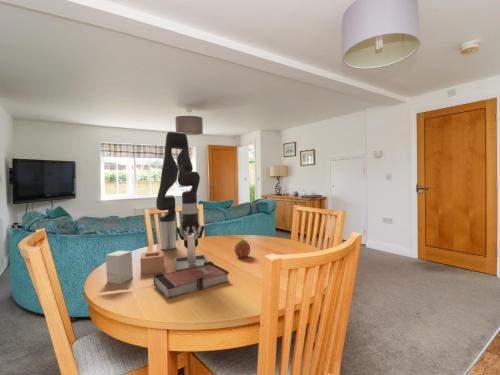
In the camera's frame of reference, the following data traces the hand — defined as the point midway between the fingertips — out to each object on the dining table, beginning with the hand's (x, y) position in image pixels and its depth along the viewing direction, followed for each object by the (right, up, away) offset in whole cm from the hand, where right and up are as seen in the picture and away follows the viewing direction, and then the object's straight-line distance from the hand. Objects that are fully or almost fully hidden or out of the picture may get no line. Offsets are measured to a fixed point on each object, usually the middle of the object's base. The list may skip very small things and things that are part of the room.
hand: (191, 246), depth 134 cm
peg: (0, -8, 0) cm, 8 cm away
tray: (0, -10, 0) cm, 10 cm away
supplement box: (-26, -11, -18) cm, 34 cm away
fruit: (+25, -9, +15) cm, 30 cm away
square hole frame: (-17, -10, -5) cm, 20 cm away
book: (+5, -11, -21) cm, 24 cm away
